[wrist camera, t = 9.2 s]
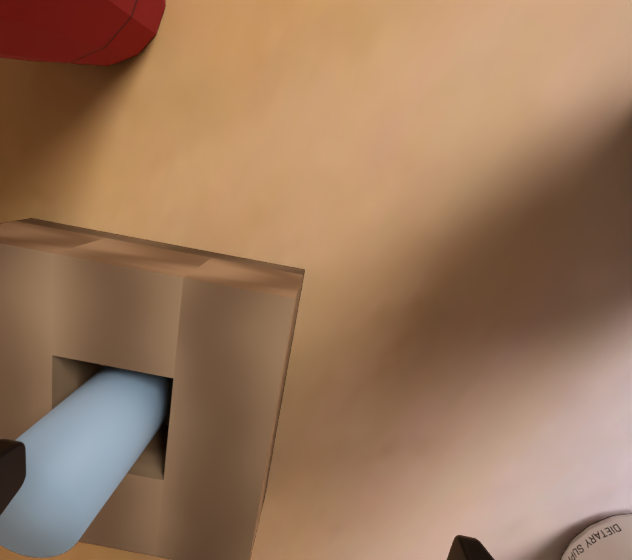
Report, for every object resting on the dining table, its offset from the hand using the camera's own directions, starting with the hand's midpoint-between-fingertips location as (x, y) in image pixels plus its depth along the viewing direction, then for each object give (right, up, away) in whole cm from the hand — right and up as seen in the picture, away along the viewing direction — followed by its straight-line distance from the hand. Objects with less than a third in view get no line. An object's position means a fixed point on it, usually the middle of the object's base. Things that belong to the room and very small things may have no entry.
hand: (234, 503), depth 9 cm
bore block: (-6, 0, +13) cm, 14 cm away
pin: (-6, 0, +12) cm, 13 cm away
